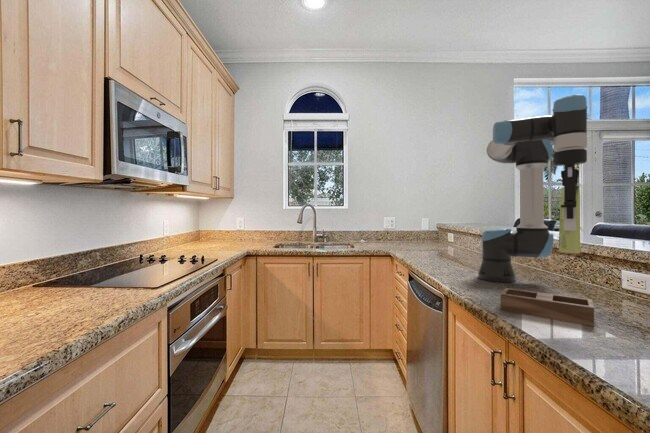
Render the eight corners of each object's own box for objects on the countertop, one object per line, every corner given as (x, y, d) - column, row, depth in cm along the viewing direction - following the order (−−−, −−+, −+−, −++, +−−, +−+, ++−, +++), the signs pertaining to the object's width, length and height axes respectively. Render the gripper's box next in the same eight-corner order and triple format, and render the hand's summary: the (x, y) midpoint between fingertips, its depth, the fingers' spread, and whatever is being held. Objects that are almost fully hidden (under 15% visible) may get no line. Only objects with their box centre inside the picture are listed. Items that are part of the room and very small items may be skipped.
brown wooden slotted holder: (505, 302, 101) (505, 287, 101) (591, 315, 87) (591, 299, 87) (500, 309, 94) (500, 294, 94) (594, 326, 80) (594, 307, 80)
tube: (585, 253, 85) (585, 185, 85) (579, 254, 83) (579, 185, 82) (562, 251, 90) (561, 187, 90) (555, 252, 87) (555, 186, 87)
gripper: (554, 156, 96) (554, 228, 96) (552, 147, 81) (552, 231, 82) (585, 153, 91) (585, 228, 91) (588, 143, 76) (588, 232, 77)
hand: (569, 229), depth 86 cm, fingers closed on tube, 6 cm apart
